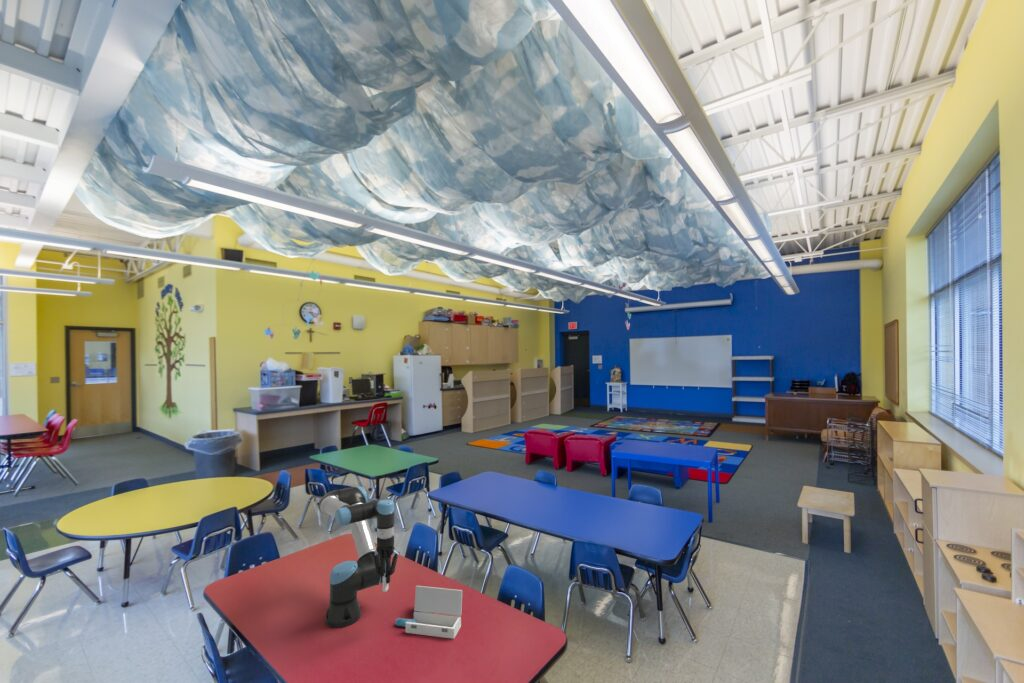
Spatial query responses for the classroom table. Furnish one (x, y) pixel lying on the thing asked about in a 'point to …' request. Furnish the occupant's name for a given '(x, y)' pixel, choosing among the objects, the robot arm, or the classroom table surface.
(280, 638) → the classroom table surface
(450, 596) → the cover
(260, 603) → the classroom table surface
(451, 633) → the white latched case
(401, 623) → the blue pill shape
